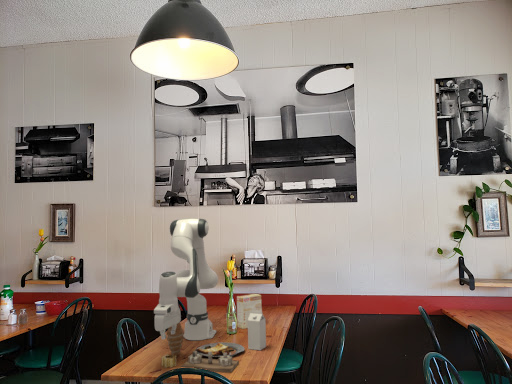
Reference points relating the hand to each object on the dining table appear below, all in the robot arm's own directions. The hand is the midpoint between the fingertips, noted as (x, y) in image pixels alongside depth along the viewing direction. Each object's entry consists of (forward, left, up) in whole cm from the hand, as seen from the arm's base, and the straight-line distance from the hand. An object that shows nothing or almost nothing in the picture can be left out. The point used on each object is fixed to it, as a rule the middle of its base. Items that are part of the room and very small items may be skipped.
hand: (168, 336), depth 201 cm
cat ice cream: (-13, -3, -14) cm, 19 cm away
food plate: (-23, +17, -14) cm, 32 cm away
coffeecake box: (-79, +17, -14) cm, 82 cm away
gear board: (-2, +20, -13) cm, 24 cm away
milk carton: (-34, +34, -14) cm, 50 cm away
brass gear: (0, 0, -13) cm, 13 cm away
